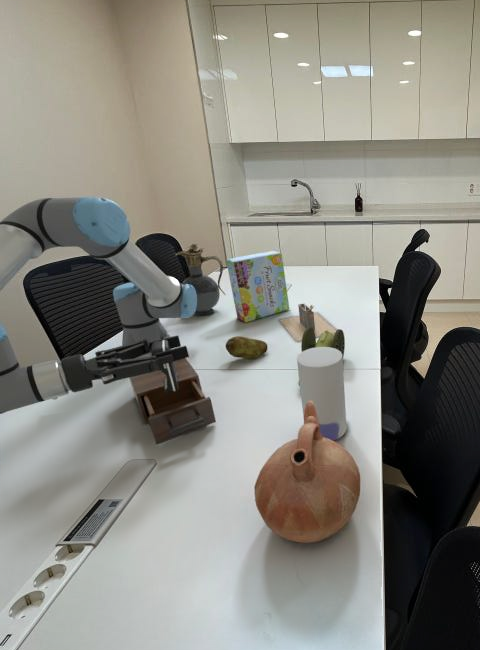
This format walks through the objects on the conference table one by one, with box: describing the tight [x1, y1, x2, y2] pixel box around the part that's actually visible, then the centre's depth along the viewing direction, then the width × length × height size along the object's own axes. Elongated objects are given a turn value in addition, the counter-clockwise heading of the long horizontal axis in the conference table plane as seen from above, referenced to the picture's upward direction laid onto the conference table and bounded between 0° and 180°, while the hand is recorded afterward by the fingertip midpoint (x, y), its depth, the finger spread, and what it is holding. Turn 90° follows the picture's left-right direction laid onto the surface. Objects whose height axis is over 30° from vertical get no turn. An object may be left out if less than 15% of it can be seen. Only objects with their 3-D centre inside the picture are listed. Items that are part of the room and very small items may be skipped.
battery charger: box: [150, 340, 178, 392], centre depth 91 cm, size 7×4×11 cm, turn 26°
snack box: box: [225, 250, 290, 324], centre depth 164 cm, size 22×9×26 cm, turn 133°
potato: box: [225, 335, 268, 360], centre depth 129 cm, size 8×13×8 cm, turn 102°
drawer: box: [143, 380, 217, 445], centre depth 94 cm, size 19×13×7 cm
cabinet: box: [128, 358, 203, 424], centre depth 106 cm, size 16×15×9 cm
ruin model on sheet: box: [279, 303, 337, 342], centre depth 153 cm, size 25×16×10 cm, turn 27°
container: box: [296, 347, 348, 442], centre depth 90 cm, size 10×10×20 cm
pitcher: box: [175, 243, 226, 316], centre depth 167 cm, size 11×19×30 cm, turn 118°
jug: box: [253, 401, 361, 544], centre depth 67 cm, size 18×18×20 cm
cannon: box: [298, 328, 346, 387], centre depth 119 cm, size 25×12×11 cm, turn 168°
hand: (183, 345), depth 92 cm, fingers closed on battery charger, 7 cm apart
